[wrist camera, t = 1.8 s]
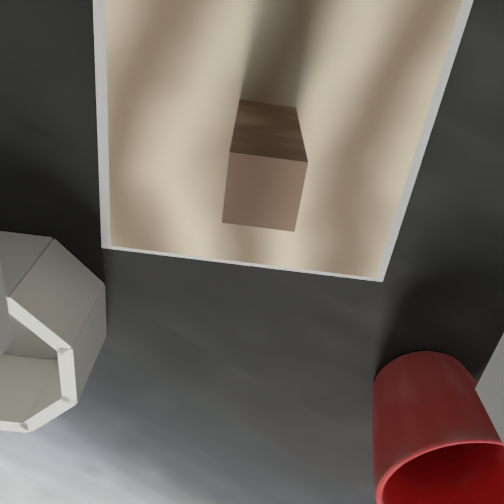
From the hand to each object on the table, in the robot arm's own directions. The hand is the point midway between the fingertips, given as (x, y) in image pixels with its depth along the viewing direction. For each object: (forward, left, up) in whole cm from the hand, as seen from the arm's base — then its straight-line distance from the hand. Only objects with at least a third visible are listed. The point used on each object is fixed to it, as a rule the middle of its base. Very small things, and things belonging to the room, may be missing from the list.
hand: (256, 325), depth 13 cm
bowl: (+16, +16, -20) cm, 30 cm away
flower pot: (-16, +20, -20) cm, 32 cm away
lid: (0, 0, -19) cm, 19 cm away
